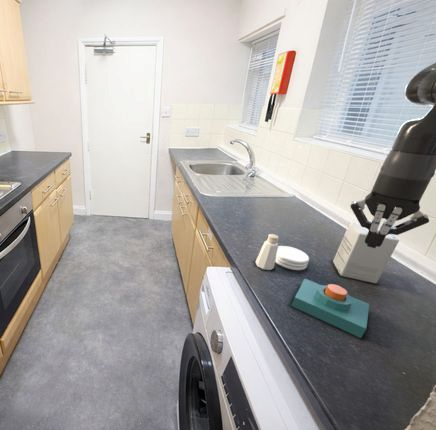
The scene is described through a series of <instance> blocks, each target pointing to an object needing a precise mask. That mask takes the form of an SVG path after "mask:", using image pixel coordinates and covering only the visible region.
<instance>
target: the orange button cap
mask: <svg viewBox="0 0 436 430" xmlns="http://www.w3.org/2000/svg"><path fill="white" fill-rule="evenodd" d="M326 285H327V287H326V290H325V294H326V295H327V296H329V297H330V298H332V299H335V300H338V301H343V300H344V299H345V297H346V295H347V294H348V291H347V289H345V288H344V287H342V286H340V285H338V284H334V283H328V284H326Z"/></svg>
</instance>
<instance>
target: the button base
mask: <svg viewBox="0 0 436 430" xmlns="http://www.w3.org/2000/svg"><path fill="white" fill-rule="evenodd" d="M327 285H328V284H323V285H322V284H319V283H317V282H314V281H312V280H311V279H310V280H309V279H307V278H304V279H303V280H302V282H301V285H300V286H299V288H298V290H297V292H296V293H295V295H294V299H293V301H292V303H291V307H292V308H295V309H297V310H299V311H301V312H303V313H306V314H308V315H310V316H313V317H314V318H317V319H318V320H320V321H323V322H325V323H327V324H329V325H331V326H334V327H336V328H338V329H340V330H342V331H345V332H347V333H348V334H351V335H353V336H355V337H357V338H359V339H362V337H363V336H364V334H365V333H366V330H367V328H368V320H369V319H368V318H369V312H370V303H368V302H365V301H362V300H360V299H358V298H355V297H353V296H351V295H350V294H348V293H347V295H346V297H345V299H344V300H343V301H338V300H335V299H332V298H330V297H329V296H327V295H326V294H325V290H326V287H327Z"/></svg>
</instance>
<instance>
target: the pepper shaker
mask: <svg viewBox="0 0 436 430" xmlns="http://www.w3.org/2000/svg"><path fill="white" fill-rule="evenodd" d="M278 241H279V236H278V235H277V234H275V233H269V234H268V237H267V240H264V242H263V243H262V246H261V249H260V251H259V253H258V255H257V256H256V259H255V265H256V267H258V268H260V269H262V270H267V271H271V270H273V269H275V265H276V263H275V260H276V255H277V249H278V246H279V243H278Z"/></svg>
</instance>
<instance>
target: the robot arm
mask: <svg viewBox="0 0 436 430" xmlns="http://www.w3.org/2000/svg"><path fill="white" fill-rule="evenodd" d="M404 96H405V99H406V100H407V101H408V102H410V103H411V104H414V105H417V106H429V107H431V108H430V109H429V111H427V112H426V114H425V115H424V116H423V117H421V118H414V119H411V120H407V121H405V122H404V123H403V124H402V125H401V126H400V128H399V130H398V132H397V135H396V137H395V139H394V141H393V144H392V147H391V148H390V151H389V153H388V154H387V155H386V157H385V159H384V161H383V163H382V165H381V167H380V170H379V172H378V175H377V177H376V180H375V182H374V184H373V186H372V189H371V190H370V192H369V194H367V195H366V196H365V198H364V199H361V200H358V201H356V200H354V201H351V204H350V209H351V211H352V212H353V214H354V216H355V218H356V220H357V221H358V223H359V224H360V225H361V226H362V227H365V228H367V229H368V230H369V231H368V234H367V236H366V238H365V243H366V244H367V246H368V247H372V248H376V246H378V247H380V246H381V245H382V243H383V241H384V239H385V237H386V235H388V234H393V235H394V236H399V235H401V234H404V233H407V232H409V231H411V230H413V229H416V228H418V227H422V226H424V225H426V224H428V223H429V222H430V219H429V216H428V215H427V214H424V213H423V212H422V211H420V209H421V205H420V202H421V200H422V198H423V196H424V195H425V192H426V190H427V188H428V186H429V184H430V182H431V181H432V178H433V177H434V176H435V174H436V62H435V63H432V64H429V65H428V66H426V67H424V68H423V69H422V70H420V71H418V73H416V74H415V75H414V76H412V78H411V79H410V80H409V81H408V83H407V84H406V86H405V89H404ZM365 206H366V208H367V209H368V211H369V213H370V215H371V216H373V217H372V220H371V221H370V220H369V219H368V218H367V216H366V214H365V212H364V210H365ZM409 216H410V217H409ZM407 217H409V220H405V221H403V222H401V223H399V224H397V225H394V224H395V223H396V222H397V221H400V220H402V219H405V218H407ZM382 219H384V221H383V223H382V224H381V221H382ZM380 224H381V226H380ZM378 227H381V228H380V230H379V231H378Z"/></svg>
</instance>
